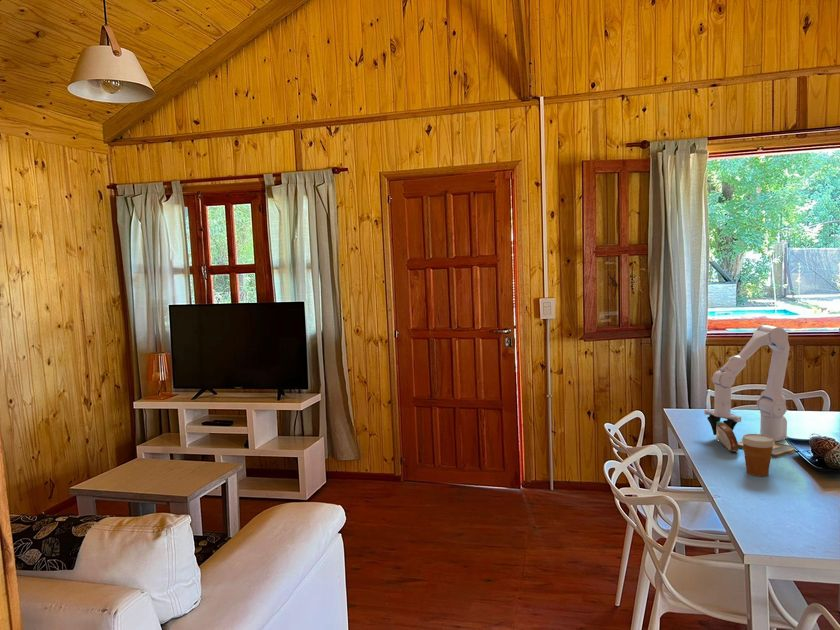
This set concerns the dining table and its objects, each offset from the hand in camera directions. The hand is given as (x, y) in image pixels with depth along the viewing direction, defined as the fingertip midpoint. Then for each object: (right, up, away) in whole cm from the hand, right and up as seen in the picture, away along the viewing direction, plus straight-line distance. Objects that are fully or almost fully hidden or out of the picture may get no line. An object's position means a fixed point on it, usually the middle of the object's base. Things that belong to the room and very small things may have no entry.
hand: (722, 436), depth 235 cm
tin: (-2, -3, -10) cm, 11 cm away
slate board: (+10, -2, -11) cm, 16 cm away
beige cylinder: (0, -2, 0) cm, 2 cm away
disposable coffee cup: (-6, -5, -36) cm, 36 cm away
